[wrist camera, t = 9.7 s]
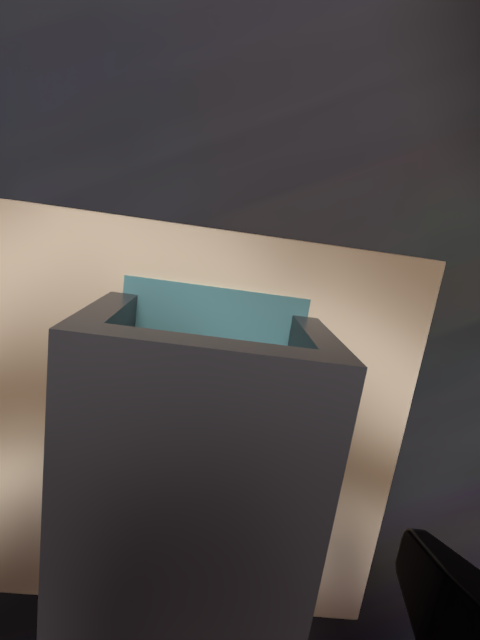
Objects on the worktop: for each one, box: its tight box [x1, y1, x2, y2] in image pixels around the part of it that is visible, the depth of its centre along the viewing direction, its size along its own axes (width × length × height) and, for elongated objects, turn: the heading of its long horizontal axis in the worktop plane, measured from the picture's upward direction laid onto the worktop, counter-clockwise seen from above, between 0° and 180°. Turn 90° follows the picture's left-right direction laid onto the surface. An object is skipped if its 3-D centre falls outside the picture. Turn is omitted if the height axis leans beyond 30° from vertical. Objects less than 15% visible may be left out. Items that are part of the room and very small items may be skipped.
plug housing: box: [36, 292, 368, 640], centre depth 10 cm, size 8×6×4 cm
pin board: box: [0, 199, 446, 620], centre depth 12 cm, size 12×12×4 cm
